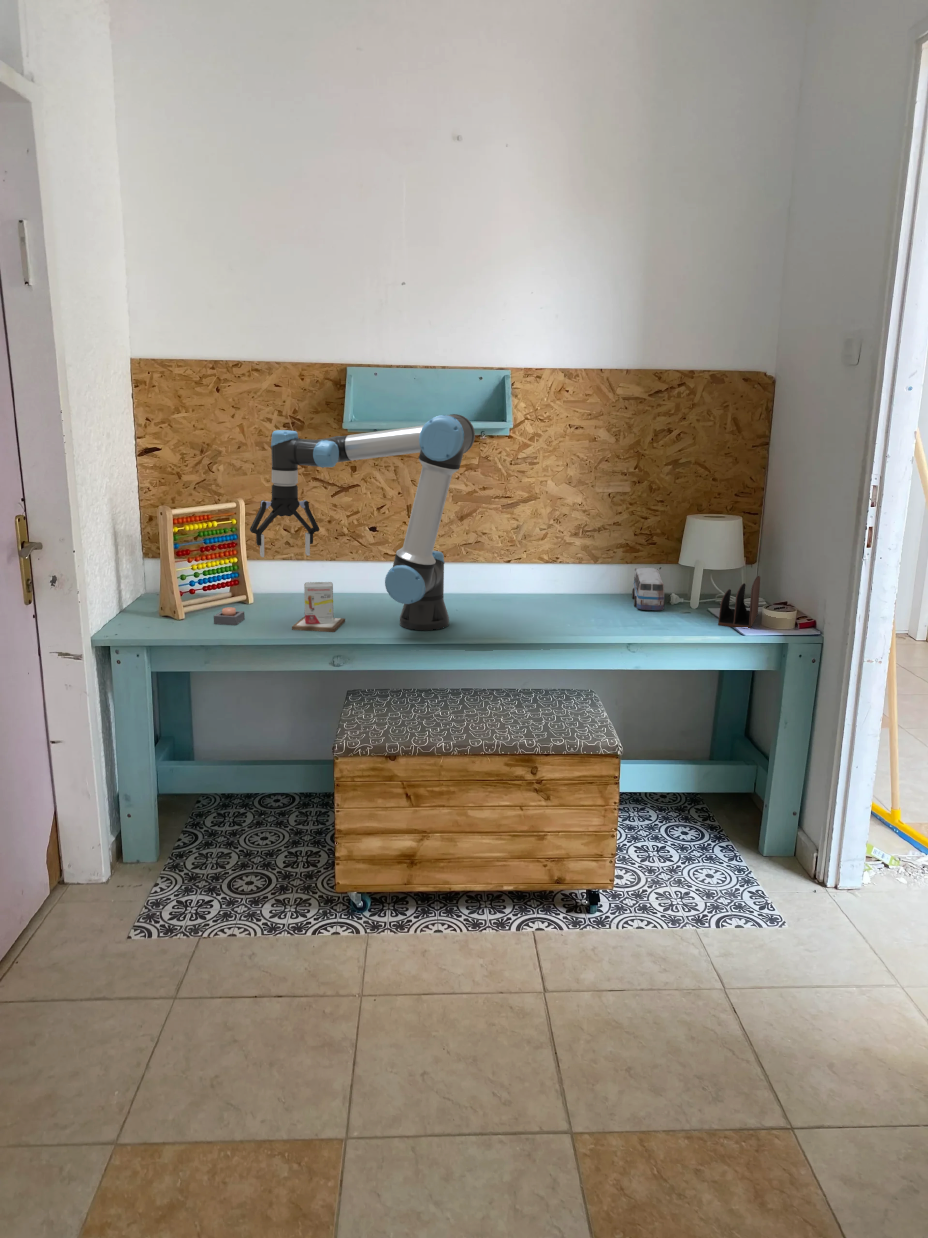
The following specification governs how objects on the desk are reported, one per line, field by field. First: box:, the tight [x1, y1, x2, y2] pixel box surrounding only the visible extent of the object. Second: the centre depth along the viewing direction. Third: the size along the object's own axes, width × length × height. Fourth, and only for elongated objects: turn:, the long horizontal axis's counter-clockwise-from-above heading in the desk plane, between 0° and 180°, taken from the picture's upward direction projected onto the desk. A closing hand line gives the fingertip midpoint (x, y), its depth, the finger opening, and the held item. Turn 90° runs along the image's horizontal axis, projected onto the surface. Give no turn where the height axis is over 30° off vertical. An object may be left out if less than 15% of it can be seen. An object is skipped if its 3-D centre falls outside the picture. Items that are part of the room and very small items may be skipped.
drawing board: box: [291, 615, 346, 633], centre depth 276 cm, size 13×12×1 cm
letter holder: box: [717, 575, 761, 629], centre depth 290 cm, size 10×20×14 cm, turn 157°
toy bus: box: [631, 567, 665, 611], centre depth 311 cm, size 10×27×10 cm, turn 173°
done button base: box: [213, 610, 246, 626], centre depth 279 cm, size 7×7×2 cm
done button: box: [221, 606, 237, 616], centre depth 278 cm, size 4×4×2 cm
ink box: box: [303, 581, 335, 624], centre depth 275 cm, size 9×5×12 cm, turn 100°
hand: (285, 555), depth 272 cm, fingers open, 13 cm apart
